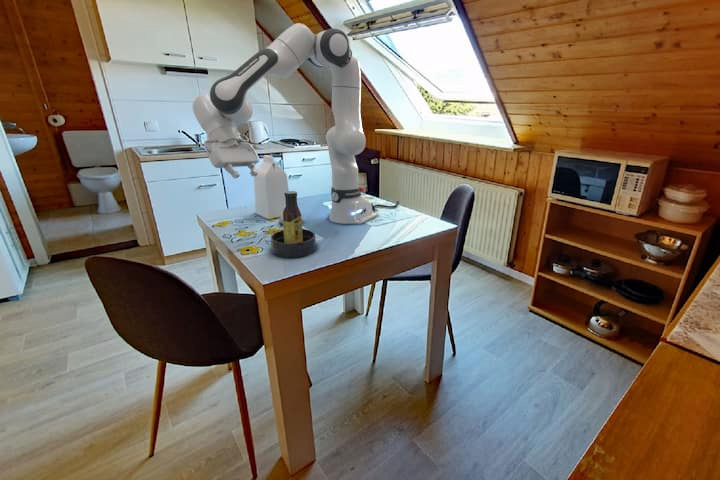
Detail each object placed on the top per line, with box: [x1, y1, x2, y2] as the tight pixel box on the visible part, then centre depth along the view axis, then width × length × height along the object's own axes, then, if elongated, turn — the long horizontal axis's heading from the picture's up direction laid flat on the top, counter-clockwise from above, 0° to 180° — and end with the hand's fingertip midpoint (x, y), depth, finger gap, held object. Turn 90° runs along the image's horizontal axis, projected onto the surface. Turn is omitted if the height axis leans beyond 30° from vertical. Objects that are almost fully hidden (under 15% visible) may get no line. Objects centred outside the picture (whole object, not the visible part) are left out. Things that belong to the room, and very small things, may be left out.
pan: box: [270, 228, 317, 258], centre depth 119 cm, size 15×15×5 cm
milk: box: [253, 154, 290, 220], centre depth 153 cm, size 12×12×26 cm
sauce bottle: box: [282, 190, 303, 244], centre depth 116 cm, size 7×6×20 cm
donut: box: [278, 215, 304, 225], centre depth 145 cm, size 10×4×10 cm
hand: (246, 176), depth 117 cm, fingers open, 8 cm apart
